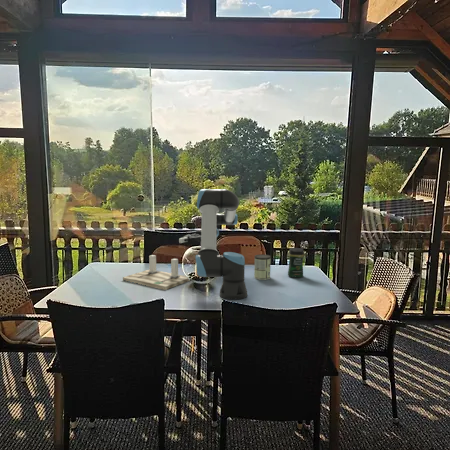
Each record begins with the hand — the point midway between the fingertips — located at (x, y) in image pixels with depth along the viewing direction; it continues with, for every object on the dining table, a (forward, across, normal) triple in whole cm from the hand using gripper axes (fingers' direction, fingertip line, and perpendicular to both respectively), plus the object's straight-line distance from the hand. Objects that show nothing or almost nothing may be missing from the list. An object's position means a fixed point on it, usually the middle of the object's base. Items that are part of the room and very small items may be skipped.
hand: (180, 240), depth 247 cm
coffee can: (-31, -42, -24) cm, 57 cm away
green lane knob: (+5, 0, -22) cm, 22 cm away
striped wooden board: (+11, +9, -24) cm, 28 cm away
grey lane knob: (+5, +18, -22) cm, 29 cm away
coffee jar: (-46, -58, -24) cm, 78 cm away
